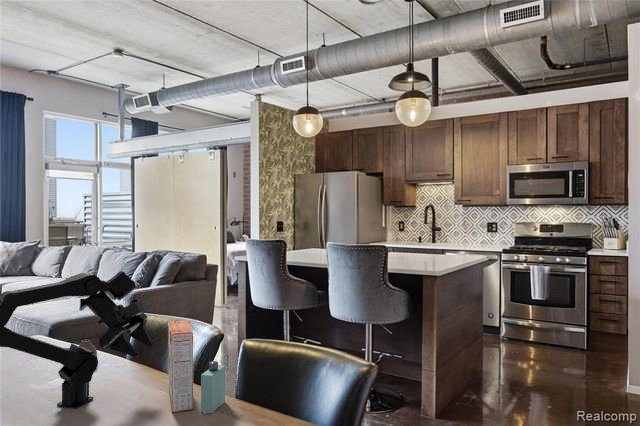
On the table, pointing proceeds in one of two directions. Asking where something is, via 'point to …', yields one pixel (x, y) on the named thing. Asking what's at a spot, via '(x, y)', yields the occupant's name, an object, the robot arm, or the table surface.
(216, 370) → the teal flask bottle
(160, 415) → the table surface
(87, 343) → the vase
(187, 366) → the cracker box
